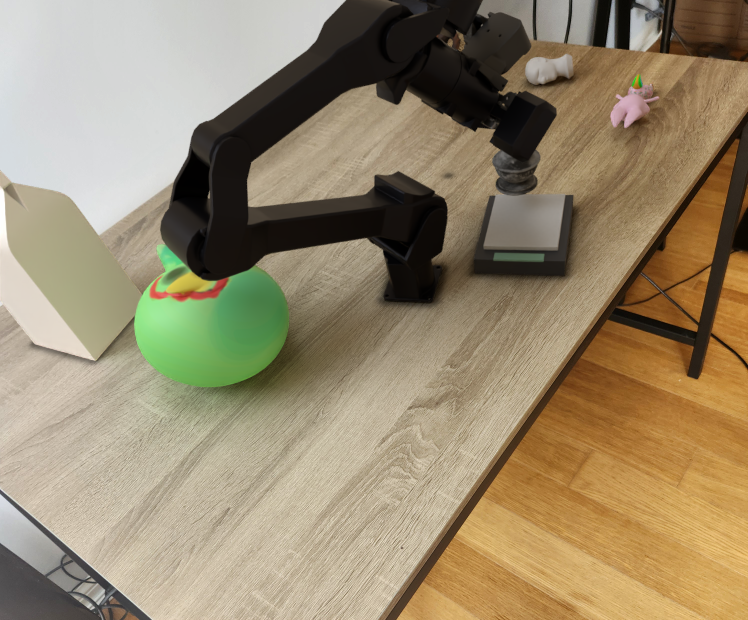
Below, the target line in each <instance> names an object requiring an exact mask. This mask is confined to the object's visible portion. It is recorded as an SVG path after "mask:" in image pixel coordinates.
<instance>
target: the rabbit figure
mask: <svg viewBox="0 0 748 620" xmlns="http://www.w3.org/2000/svg"><path fill="white" fill-rule="evenodd" d="M654 92H655V85H654V81H652V82H651V83H650V84H649V85H648V84H644V83H643V81H642V75H641V74H640V73H637V74H636V76H635V77H634V79H633V80H632V83H631V86H630V87H629V88H628V90H627V95H625V96H622V95H620V94H618V93H617V94H615V98H616V99H618V100H619V101H618V102H617V103H616V104H615V105H614V106H613V108H612V110H611V112H610V115H609V116H610V121H611V125H612V127H613V128H614V129H615V128H617V127H618V125H619V124H620V123H621V122H622V121H623V122H624V125H623V126H624V127H623V128H624V129H628V128H629V127H630V126H631V125H632V124H633V123H634V122H636V121H638V120H640V119H642V118H643V117H645V116H646V115H648V114H649V113H650V111H651V108H650V106H649V105H648V104H649V103H650V104H651V103H652V102H653V103H654V102H656V101H659V100H660V96H654V97H653V94H654Z"/></svg>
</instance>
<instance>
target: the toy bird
mask: <svg viewBox="0 0 748 620" xmlns="http://www.w3.org/2000/svg"><path fill="white" fill-rule="evenodd" d="M155 249H156V254H157V256H158V258H159V260H160V263H161V265H162V266H163V268H164V272H162V273H161V274H160V275H158V276H157V277H156V278H155V279H153V281H151V283H150V284H149V285H148V286H146V288H145V290H144V291H143V293H142V296H141V298H140V301H139V303H138V306H137V309H136V313H135V316H134V321H133V323H134V325H133V327H134V328H133V329H134V335H135V340H136V344H137V346H138V349H139V351H140V353H141V355H142V356H143V358H144V359H145V360H146V362H147V363H148V364H149V365H150V366H151V367H152V368H153V369H154V370H155V371H157V372H158V373H160V374H161V375H163V376H164V377H166V378H168V379H170V380H172V381H173V382H177V383H179V384H183V385H187V386H192V387H198V388H219V387H220V388H221V387H225V386H230V385H231V386H232V385H235V384H237V383H240V382H243V381H245V380H246V381H247V379H250V378H252V377H254V376H256V375H257V374H259V373H261V372H262V371H263V370H265V369H266V368H267V367H268V366H270V364H271V363H272V362H274V360H275V359H276V358H277V356H278V355H279V354H280V352H281V350H282V349H283V347H284V345H285V343H286V340H287V337H288V333H289V327H290V311H289V310H290V309H289V304H288V301H287V299H286V296H285V293H284V291H283V290H282V288H281V286H280V285H279V283H278V282H277V281H276V279H274V277H273V276H271V275H270V273H268V272H267V271H266V270H264V269H263V268H262V267H259V266H258V265H257V264H255V265H254V266H253V267H252V268H251V269H250V270H248V271H245V272H242V273H239V274H237V275H234V276H231V277H228V278H225V279H222V280H218V281H206V280H203V279H201V278H200V277H198V276H197V275H195V274H194V273H193V272H192V271H191V270H190V269H189V268H188V267H187V266H186V265H185V264H184V263H183V262H182V261H181V260H180V259H179V258H178V257H177V256H176V255H175V254H174V253H173V252H172V251H171V250H170V249H169V248H168V247H167V246H166V245H165V243H160V244H157V245H156V248H155Z"/></svg>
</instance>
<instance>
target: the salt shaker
mask: <svg viewBox="0 0 748 620" xmlns="http://www.w3.org/2000/svg"><path fill="white" fill-rule="evenodd" d="M514 93H515V94H518V92H514ZM503 105H504V104H503ZM504 106H506V105H504ZM541 156H542V155H541V153H540V152H539V151H538V150H537V149H536V150H535V151H534V153H533V155H532V156H531V158H530V159H529V161H526V162H524V163H521V162H520V161H518V160H516V159H515V158H513V157H511V156H510V155H508V154H506V153H505V152H503V151H501V150H500V149H499V150H498V151H497V152H496V153H495V154H494V155H493V157H492V160H491V163H492V166H493V167H494V169H495V172H496V174H497V176H498V177H497V179H496V181H495V184H494V185H495V188H496V190H497V191H498V192H499V193H501V194H505V195H511V196H518V195H523V194H530V193H531V192H532V191H534V190H535V189H536V188H537V187H538V184H539V183H538V180H539V179H538V177H537V176H536V175H535V172H536V170H537V168H538V166H539V164H540V161H541V158H542V157H541Z"/></svg>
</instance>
